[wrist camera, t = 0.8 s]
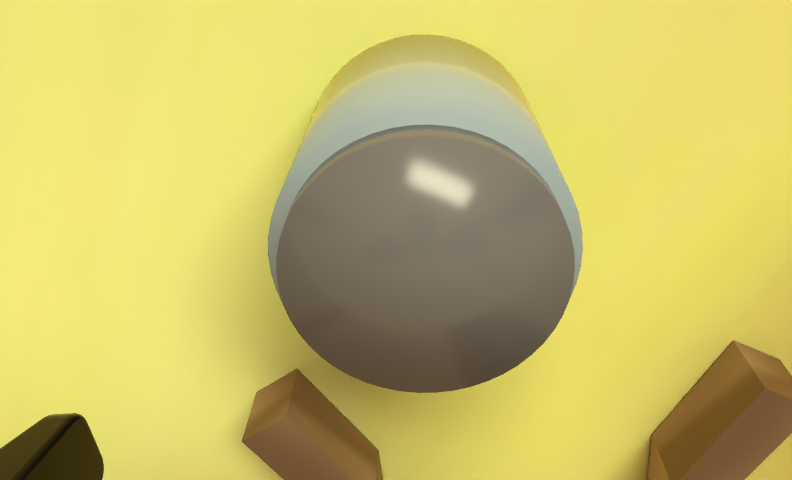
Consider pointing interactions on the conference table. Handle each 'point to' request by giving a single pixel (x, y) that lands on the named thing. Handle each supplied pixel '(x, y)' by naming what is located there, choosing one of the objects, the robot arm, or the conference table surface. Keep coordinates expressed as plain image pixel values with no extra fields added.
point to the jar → (424, 221)
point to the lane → (670, 444)
